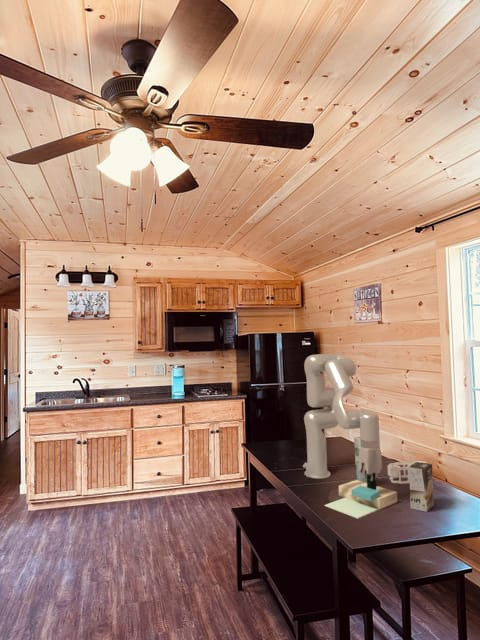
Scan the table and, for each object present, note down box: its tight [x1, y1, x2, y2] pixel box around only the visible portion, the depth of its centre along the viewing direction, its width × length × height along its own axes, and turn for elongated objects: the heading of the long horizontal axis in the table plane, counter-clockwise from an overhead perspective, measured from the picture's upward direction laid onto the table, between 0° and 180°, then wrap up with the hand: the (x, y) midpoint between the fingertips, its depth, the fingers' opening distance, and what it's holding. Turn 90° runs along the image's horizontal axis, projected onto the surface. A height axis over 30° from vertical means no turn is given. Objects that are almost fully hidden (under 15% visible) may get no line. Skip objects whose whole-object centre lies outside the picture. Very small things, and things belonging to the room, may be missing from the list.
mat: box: [324, 497, 379, 519], centre depth 166 cm, size 16×12×1 cm
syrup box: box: [353, 436, 361, 466], centre depth 222 cm, size 6×6×14 cm
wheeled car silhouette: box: [387, 460, 427, 485], centre depth 200 cm, size 20×11×7 cm, turn 98°
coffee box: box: [409, 462, 435, 513], centre depth 166 cm, size 9×6×16 cm
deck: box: [338, 479, 398, 511], centre depth 176 cm, size 20×12×4 cm, turn 37°
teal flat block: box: [351, 485, 380, 501], centre depth 168 cm, size 9×6×2 cm, turn 38°
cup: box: [355, 461, 367, 483], centre depth 193 cm, size 8×8×10 cm
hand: (371, 489), depth 171 cm, fingers closed
